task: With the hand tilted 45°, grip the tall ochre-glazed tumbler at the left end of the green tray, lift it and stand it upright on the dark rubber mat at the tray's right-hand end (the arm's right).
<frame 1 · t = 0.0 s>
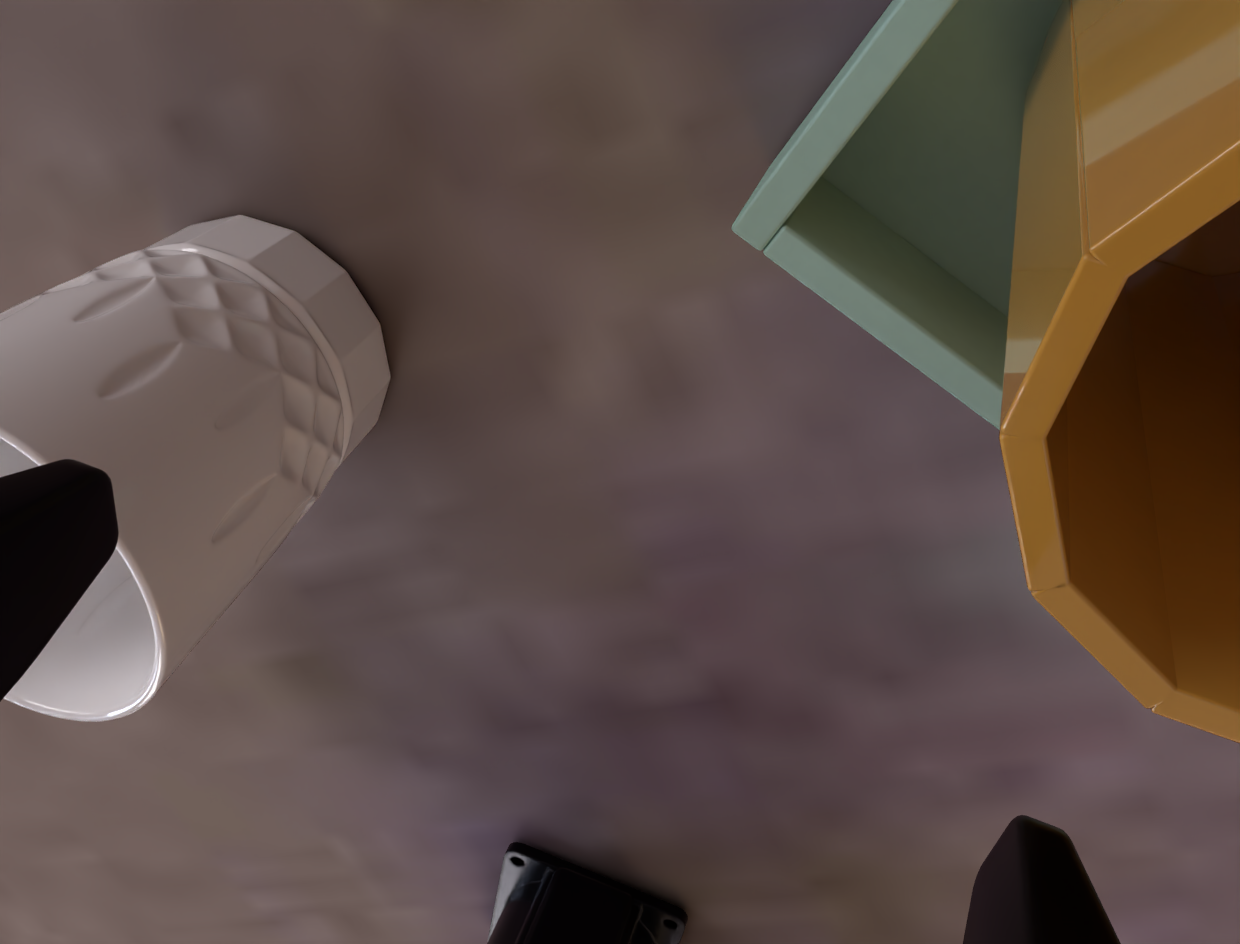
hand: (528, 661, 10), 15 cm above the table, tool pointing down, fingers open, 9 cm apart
white cup: (281, 334, 29), on the table
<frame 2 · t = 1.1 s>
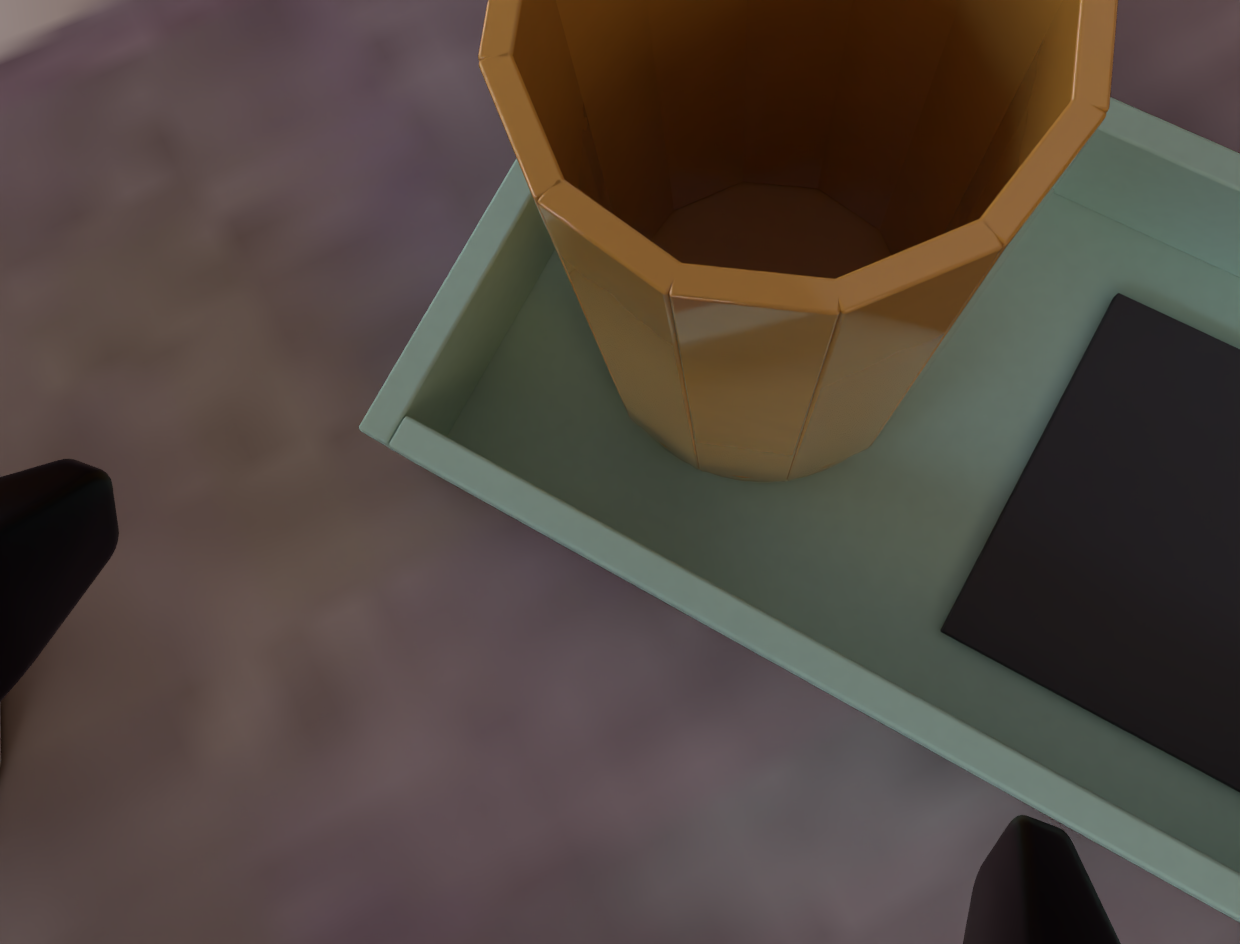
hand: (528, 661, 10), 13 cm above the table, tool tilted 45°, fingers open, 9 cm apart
cup: (762, 327, 24), resting on green tray
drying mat: (1212, 553, 22), resting on green tray
green tray: (973, 441, 23), on the table
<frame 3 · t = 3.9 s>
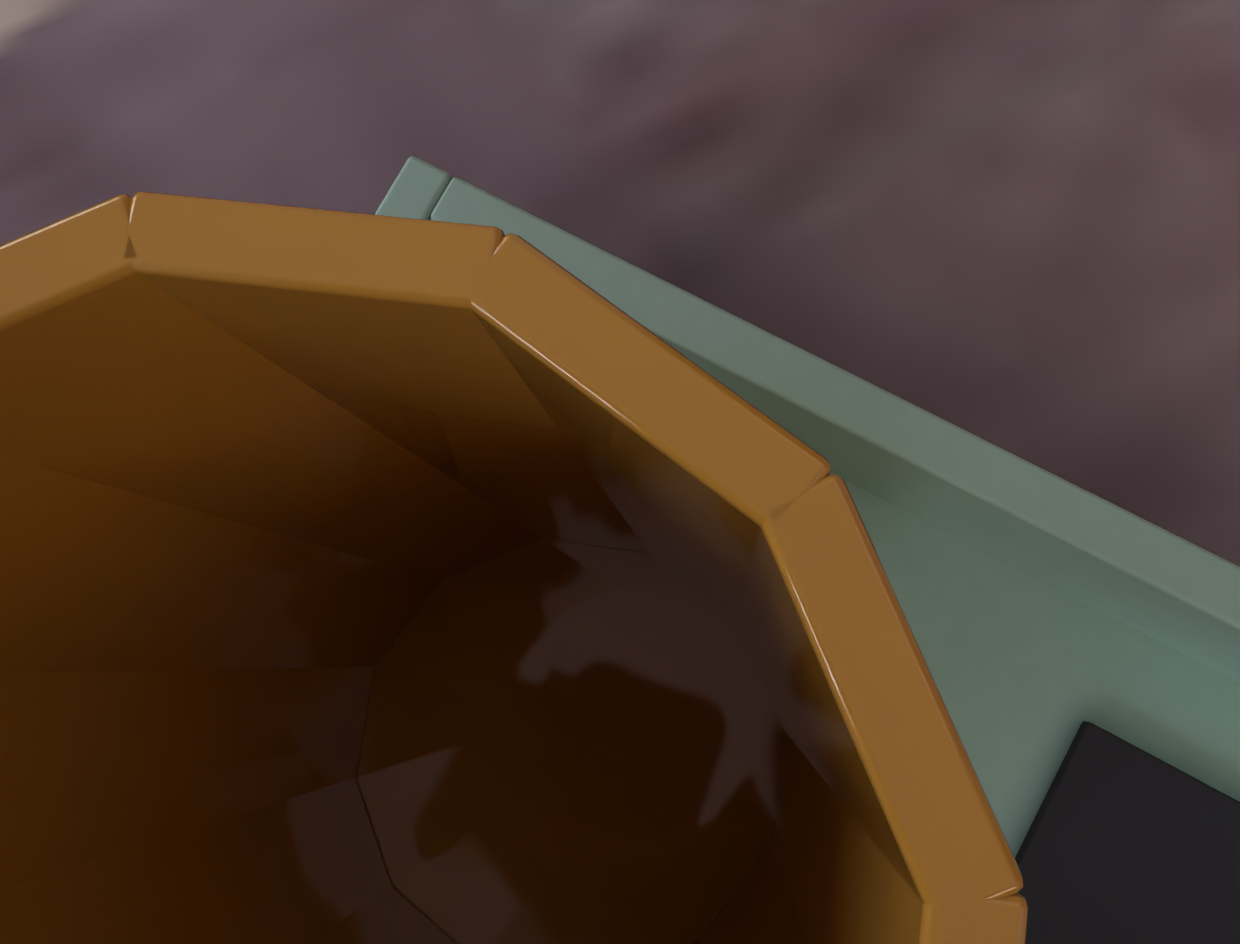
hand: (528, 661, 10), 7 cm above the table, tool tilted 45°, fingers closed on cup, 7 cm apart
cup: (571, 749, 16), point 1 cm above the table, touching green tray, gripper
green tray: (879, 924, 16), on the table
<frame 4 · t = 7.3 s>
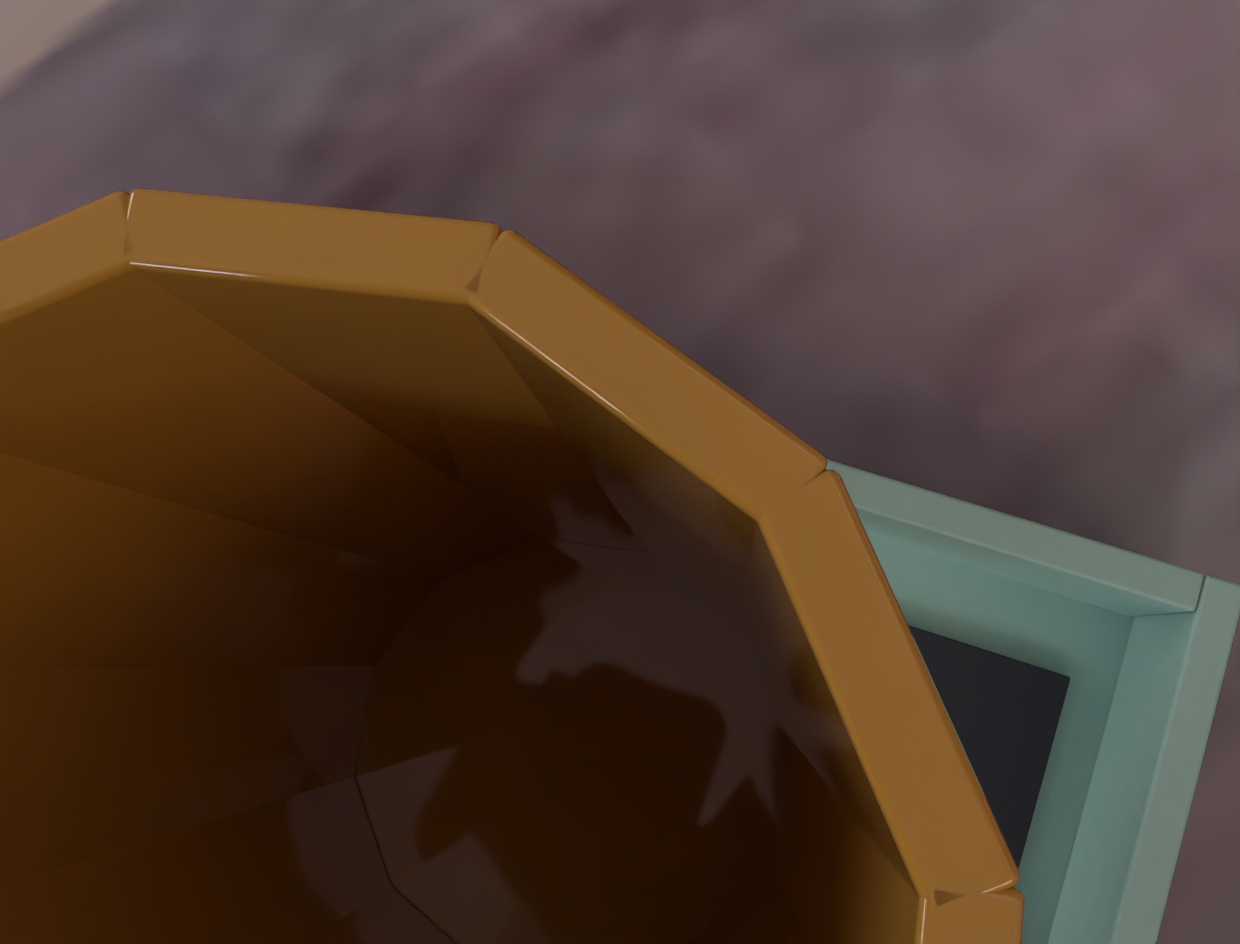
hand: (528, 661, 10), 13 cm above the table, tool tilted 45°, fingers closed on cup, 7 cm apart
cup: (570, 748, 16), point 6 cm above the table, touching gripper
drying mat: (809, 807, 21), resting on green tray
green tray: (570, 720, 23), on the table
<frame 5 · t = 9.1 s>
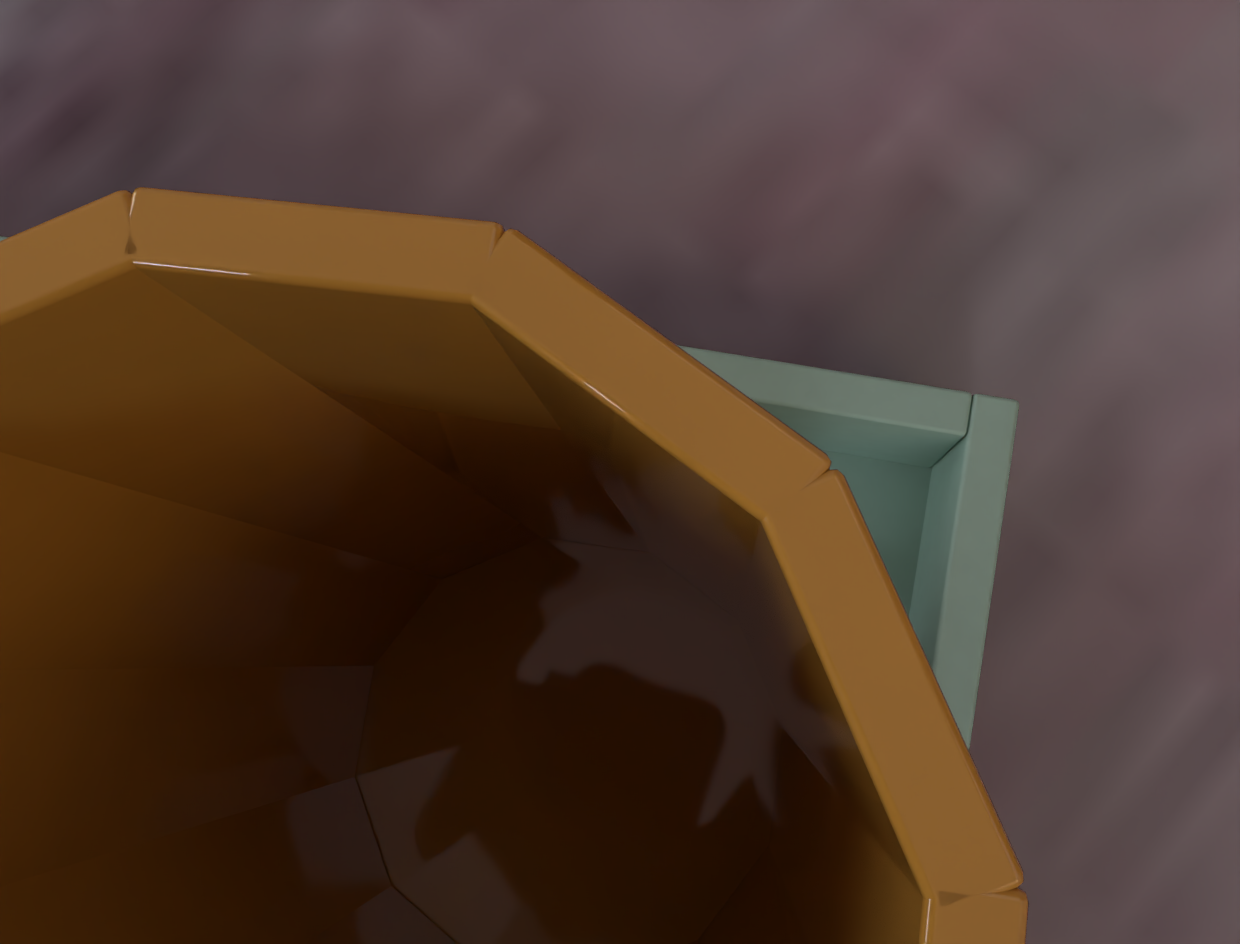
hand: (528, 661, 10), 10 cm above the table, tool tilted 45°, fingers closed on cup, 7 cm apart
cup: (571, 748, 16), point 3 cm above the table, touching gripper
green tray: (337, 667, 20), on the table
when the fingers open (7 cm above the table, at t = 10.5 s): cup stays where it is, resting on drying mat.
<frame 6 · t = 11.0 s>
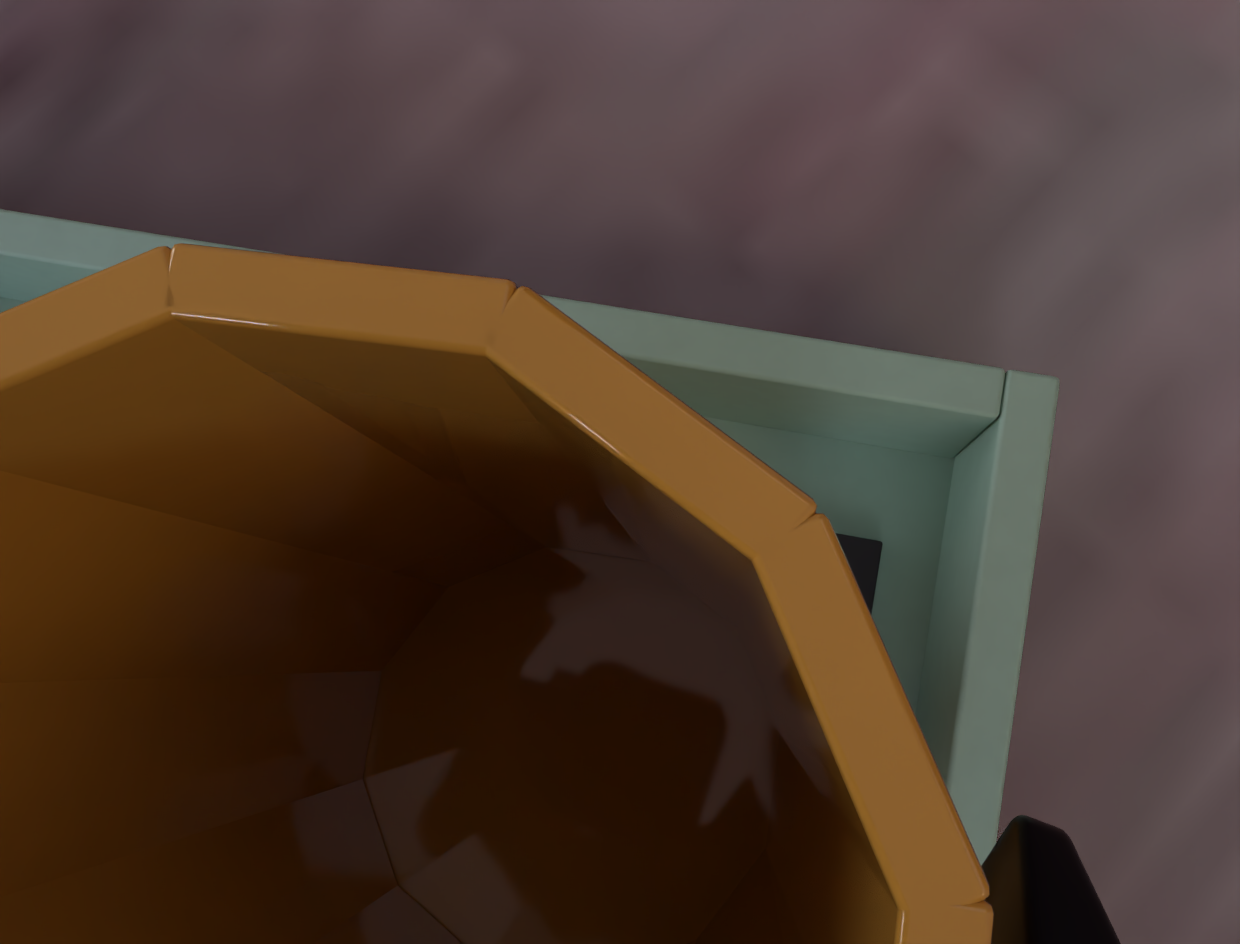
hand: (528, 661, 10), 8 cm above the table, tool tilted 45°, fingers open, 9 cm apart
cup: (574, 752, 17), point 1 cm above the table, touching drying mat
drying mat: (580, 748, 17), resting on green tray
green tray: (285, 682, 18), on the table
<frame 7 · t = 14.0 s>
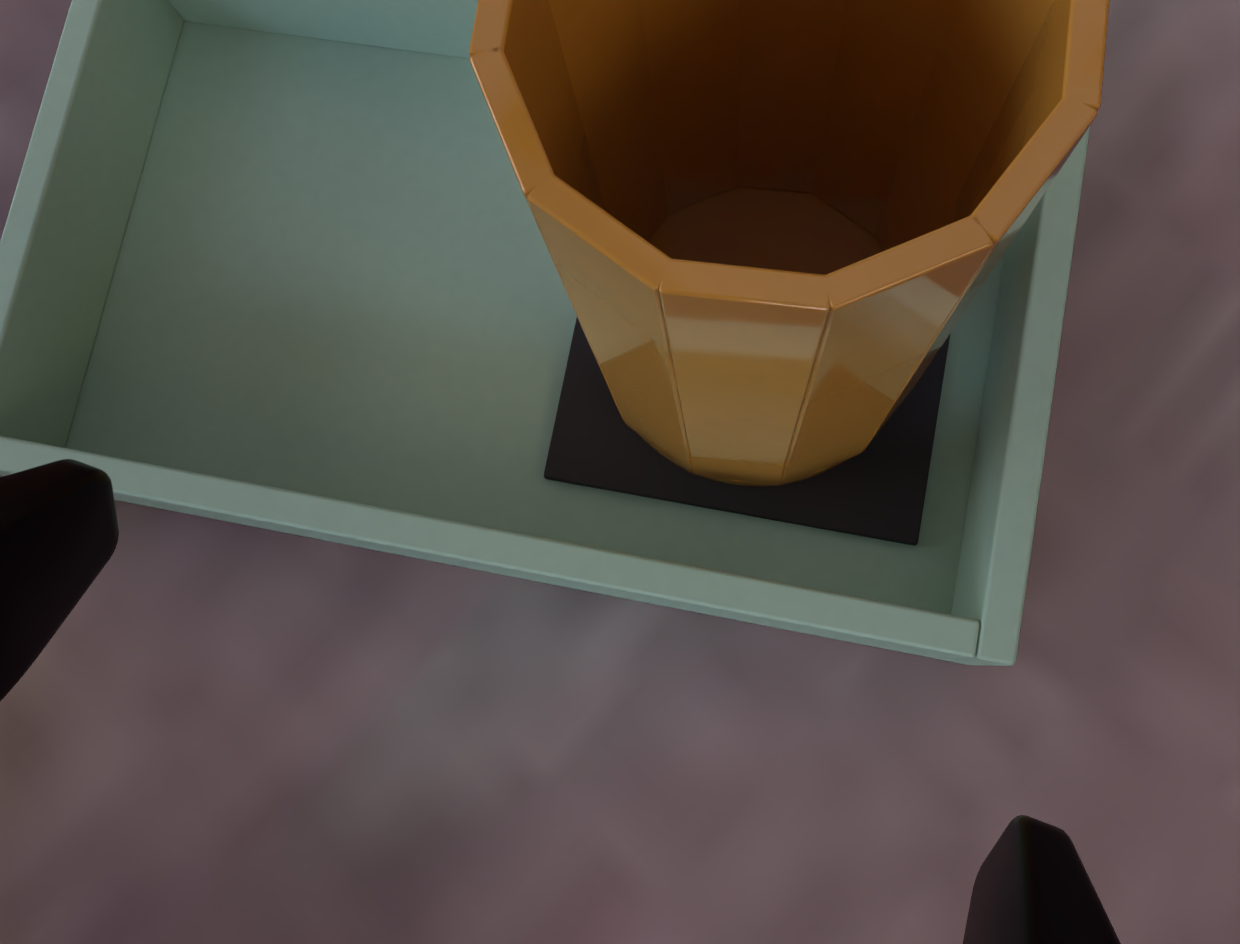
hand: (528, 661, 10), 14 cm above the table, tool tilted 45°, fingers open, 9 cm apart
cup: (756, 331, 24), point 1 cm above the table, touching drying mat
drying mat: (758, 334, 24), resting on green tray
green tray: (537, 305, 25), on the table
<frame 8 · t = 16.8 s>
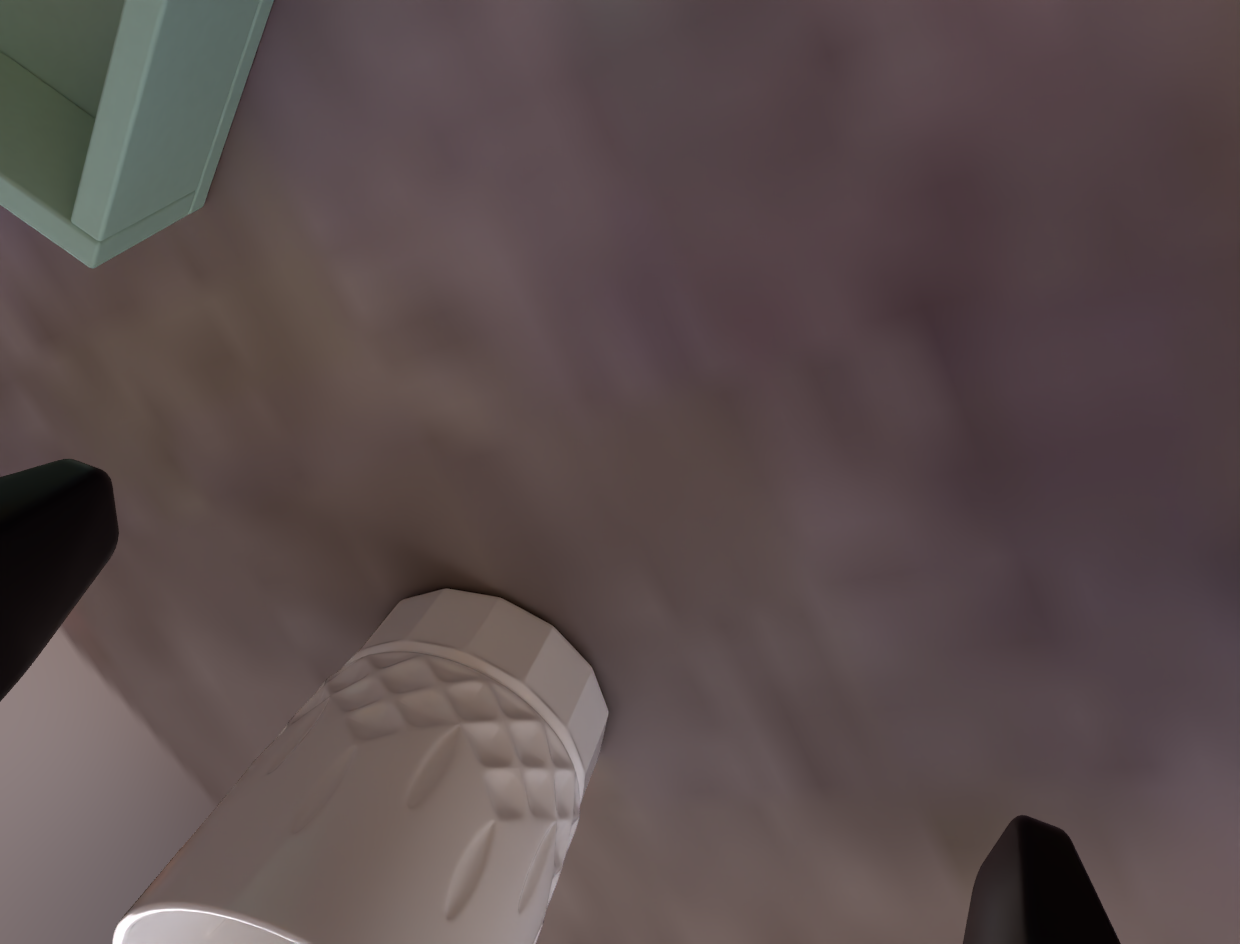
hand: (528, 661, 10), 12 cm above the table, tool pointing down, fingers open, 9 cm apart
white cup: (494, 679, 29), on the table
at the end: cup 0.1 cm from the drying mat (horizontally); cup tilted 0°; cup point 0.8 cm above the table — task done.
